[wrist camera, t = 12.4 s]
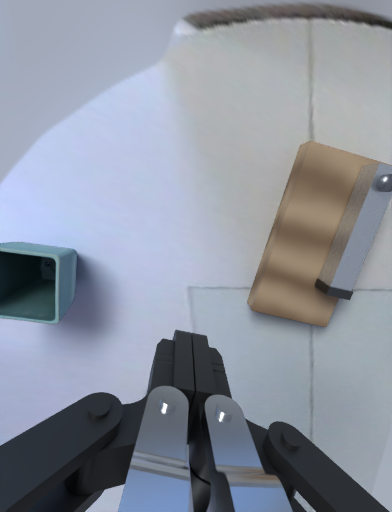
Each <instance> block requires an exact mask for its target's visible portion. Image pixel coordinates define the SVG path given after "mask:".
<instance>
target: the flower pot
mask: <svg viewBox="0 0 392 512" xmlns="http://www.w3.org/2000/svg"><path fill="white" fill-rule="evenodd" d="M46 263H49V266H47V265H46ZM76 268H77V252H76V250H74V249H70V248H62V247H54V246H46V245H39V244H32V243H25V242H9V243H0V318H3V319H14V320H23V321H31V322H39V323H46V324H58V323H59V321H60V320H61V318H62V317H63V315H64V314H65V313H66V311H67V310H68V308H69V307H70V305H71V304H72V302H73V300H74V297H75V292H76Z"/></svg>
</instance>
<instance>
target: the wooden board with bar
mask: <svg viewBox="0 0 392 512" xmlns="http://www.w3.org/2000/svg"><path fill="white" fill-rule="evenodd" d="M374 163H382V162H379V161H376V160H373V159H369V158H366V157H363V156H359V155H356V154H353V153H349V152H346V151H343V150H339V149H336V148H333V147H330V146H326V145H323V144H320V143H316V142H313V141H309V142H307V143H304V144H302V145H300V147H299V150H298V153H297V156H296V159H295V162H294V165H293V168H292V171H291V174H290V177H289V180H288V183H287V186H286V189H285V191H284V194H283V197H282V200H281V203H280V206H279V209H278V212H277V215H276V218H275V221H274V224H273V227H272V230H271V233H270V236H269V239H268V242H267V245H266V248H265V251H264V253H263V256H262V259H261V262H260V265H259V268H258V271H257V274H256V277H255V280H254V283H253V286H252V289H251V292H250V295H249V298H248V301H247V302H248V304H249V306H250V308H251V310H252V311H257V312H261V313H265V314H270V315H274V316H279V317H283V318H287V319H292V320H296V321H301V322H305V323H309V324H314V325H318V326H322V327H326V326H327V324H328V322H329V319H330V317H331V315H332V312H333V310H334V308H335V306H336V303H337V301H338V299H339V298H338V297H333V296H329V295H326V294H324V293H323V292H322V291H320V290H319V289H318V288H316V287H315V286H314V285H315V283H316V280H317V278H318V279H319V276H320V273H321V271H322V268H323V266H324V263H325V261H326V258H327V255H328V253H329V250H330V248H331V245H332V243H333V240H334V237H335V235H336V232H337V230H338V227H339V224H340V222H341V219H342V217H343V214H344V212H345V209H346V206H347V204H348V201H349V199H350V196H351V193H352V191H353V188H354V186H355V183H356V181H357V178H358V175H359V173H360V170H361V168H362V165H367V164H374ZM383 164H386V163H383ZM387 165H389V164H387ZM390 166H392V165H390Z"/></svg>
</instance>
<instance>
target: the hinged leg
mask: <svg viewBox="0 0 392 512" xmlns="http://www.w3.org/2000/svg"><path fill="white" fill-rule="evenodd" d="M391 196H392V166H390V165H387V164H383V163H374V164H367V165H362V168H361V170H360V173H359V175H358V178H357V181H356V183H355V186H354V188H353V191H352V193H351V196H350V199H349V201H348V204H347V206H346V209H345V212H344V214H343V217H342V219H341V222H340V224H339V227H338V230H337V232H336V235H335V237H334V240H333V243H332V245H331V248H330V250H329V253H328V255H327V258H326V261H325V263H324V266H323V268H322V271H321V273H320V276H319V279H318V278H317V280H316V283H315V285H314V286H315V287H316V288H318V289H319V290H320V291H322V292H323V293H324V294H326V295H329V296H333V297H338V298H342V299H347V300H350V299H351V296H352V294H353V292H352V291H351V290H352V288H353V285H354V283H355V281H356V278H357V276H358V274H359V271H360V269H361V267H362V264H363V262H364V260H365V257H366V255H367V253H368V250H369V248H370V246H371V243H372V241H373V239H374V236H375V234H376V232H377V229H378V227H379V225H380V222H381V220H382V218H383V215H384V213H385V211H386V208H387V206H388V203H389V201H390V199H391Z"/></svg>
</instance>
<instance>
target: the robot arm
mask: <svg viewBox="0 0 392 512" xmlns="http://www.w3.org/2000/svg"><path fill="white" fill-rule="evenodd" d="M123 484H125V486H124V490H123V494H122V498H121V502H120V505H119V509H118V512H307V511H306V510H305V509H304V508H303V507H302V506H301V505H300V504H299V503H298V501H297V500H296V499H295V498H294V495H295V493H296V491H298V492H299V494H300V495H301V496H302V497H303V498H304V499H305V500H306V501H307V502H308V503H309V504H310V505H311V507H312V508H313V509H314V510H315V511H316V512H389V511H388V510H387V509H386V508H385V507H384V506H382V505H381V504H380V503H379V502H378V501H377V500H376V499H375V498H373V497H372V496H371V495H370V494H369V493H368V492H367V491H366V490H365V489H363V488H362V487H361V486H360V485H359V484H358V483H357V482H356V481H354V480H353V479H352V478H351V477H350V476H349V475H348V474H347V473H346V472H344V471H343V470H342V469H341V468H340V467H339V466H338V465H337V464H335V463H334V462H333V461H332V460H331V459H330V458H329V457H328V456H326V455H325V454H324V453H323V452H322V451H321V450H320V449H319V448H318V447H316V446H315V445H314V444H313V443H312V442H311V441H310V440H309V439H307V438H306V437H305V436H304V435H303V434H302V433H301V432H300V431H298V430H297V429H296V428H295V427H293V426H291V425H289V424H287V423H284V422H273V423H272V424H271V425H270V426H269V429H268V430H267V429H265V428H263V427H261V426H258V425H256V424H254V423H252V422H250V421H248V420H247V419H245V417H244V414H243V411H242V409H241V408H240V406H239V405H238V404H237V403H236V402H235V401H234V400H232V397H231V393H230V389H229V385H228V381H227V376H226V374H225V368H224V364H223V360H222V356H221V355H220V354H219V352H218V351H217V350H216V349H215V348H210V347H209V345H208V340H207V336H205V335H200V334H195V333H190V332H185V331H180V330H175V333H174V337H173V340H168V339H162V340H161V341H160V342H159V343H158V344H157V348H156V352H155V356H154V360H153V364H152V368H151V372H150V378H149V384H148V390H147V393H146V396H145V397H144V398H143V399H141V400H140V401H138V402H135V403H131V404H124V405H122V404H121V402H120V400H119V399H118V398H117V397H116V396H114V395H112V394H109V393H103V392H100V393H93V394H90V395H88V396H86V397H84V398H82V399H81V400H79V401H77V402H75V403H74V404H72V405H70V406H68V407H67V408H65V409H63V410H61V411H60V412H58V413H56V414H55V415H53V416H51V417H49V418H48V419H46V420H44V421H42V422H41V423H39V424H37V425H35V426H34V427H32V428H30V429H29V430H27V431H25V432H23V433H22V434H20V435H18V436H16V437H15V438H13V439H11V440H10V441H8V442H6V443H4V444H3V445H1V446H0V512H85V511H86V510H87V509H88V508H89V507H90V506H91V505H92V504H93V503H94V502H95V501H96V500H97V499H98V498H99V497H100V496H101V494H102V493H103V491H104V490H105V489H108V488H112V487H116V486H119V485H123Z"/></svg>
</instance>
